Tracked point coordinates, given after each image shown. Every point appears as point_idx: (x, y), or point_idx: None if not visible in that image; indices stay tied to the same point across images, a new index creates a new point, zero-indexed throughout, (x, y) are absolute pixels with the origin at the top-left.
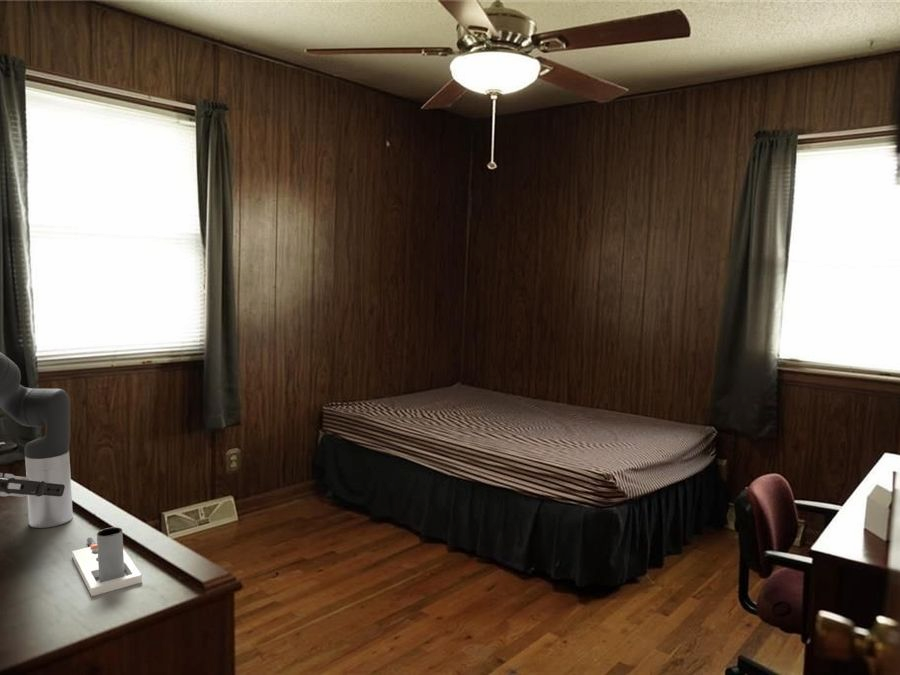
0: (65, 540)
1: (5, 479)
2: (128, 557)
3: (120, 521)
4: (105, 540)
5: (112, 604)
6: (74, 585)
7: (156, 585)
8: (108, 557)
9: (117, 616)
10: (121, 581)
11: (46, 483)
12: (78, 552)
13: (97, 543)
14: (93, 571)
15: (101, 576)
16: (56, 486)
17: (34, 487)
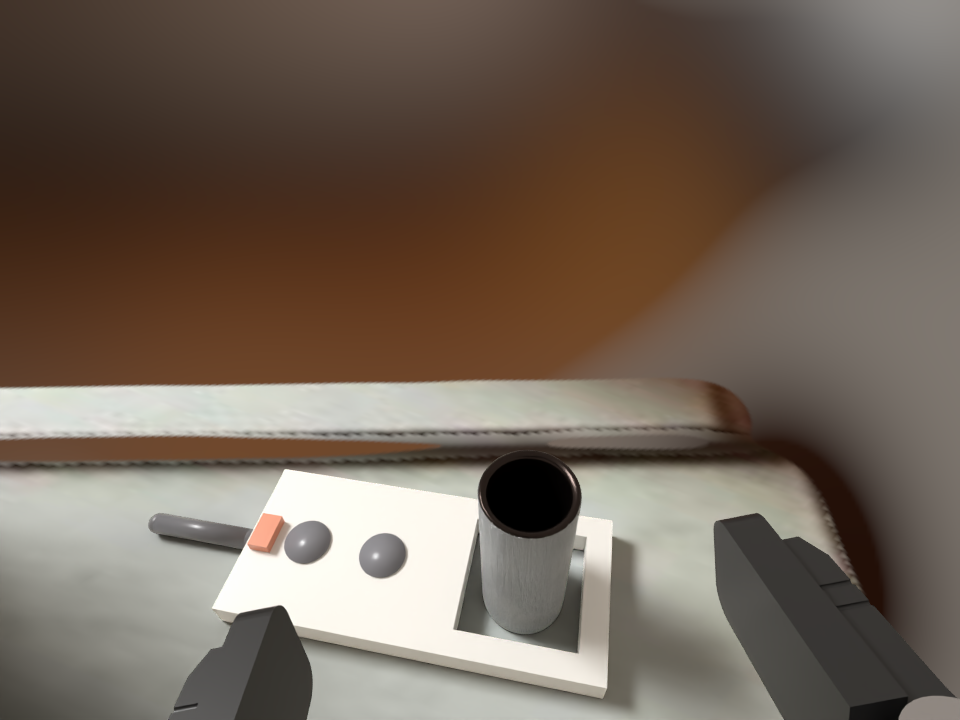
0: (50, 579)
1: None
2: (447, 497)
3: (119, 409)
4: (571, 532)
5: (715, 668)
6: (458, 710)
7: (659, 514)
8: (568, 564)
9: None
10: (610, 583)
11: (887, 678)
12: (248, 596)
13: (519, 559)
14: (455, 621)
15: (537, 619)
16: (862, 593)
17: (278, 702)
